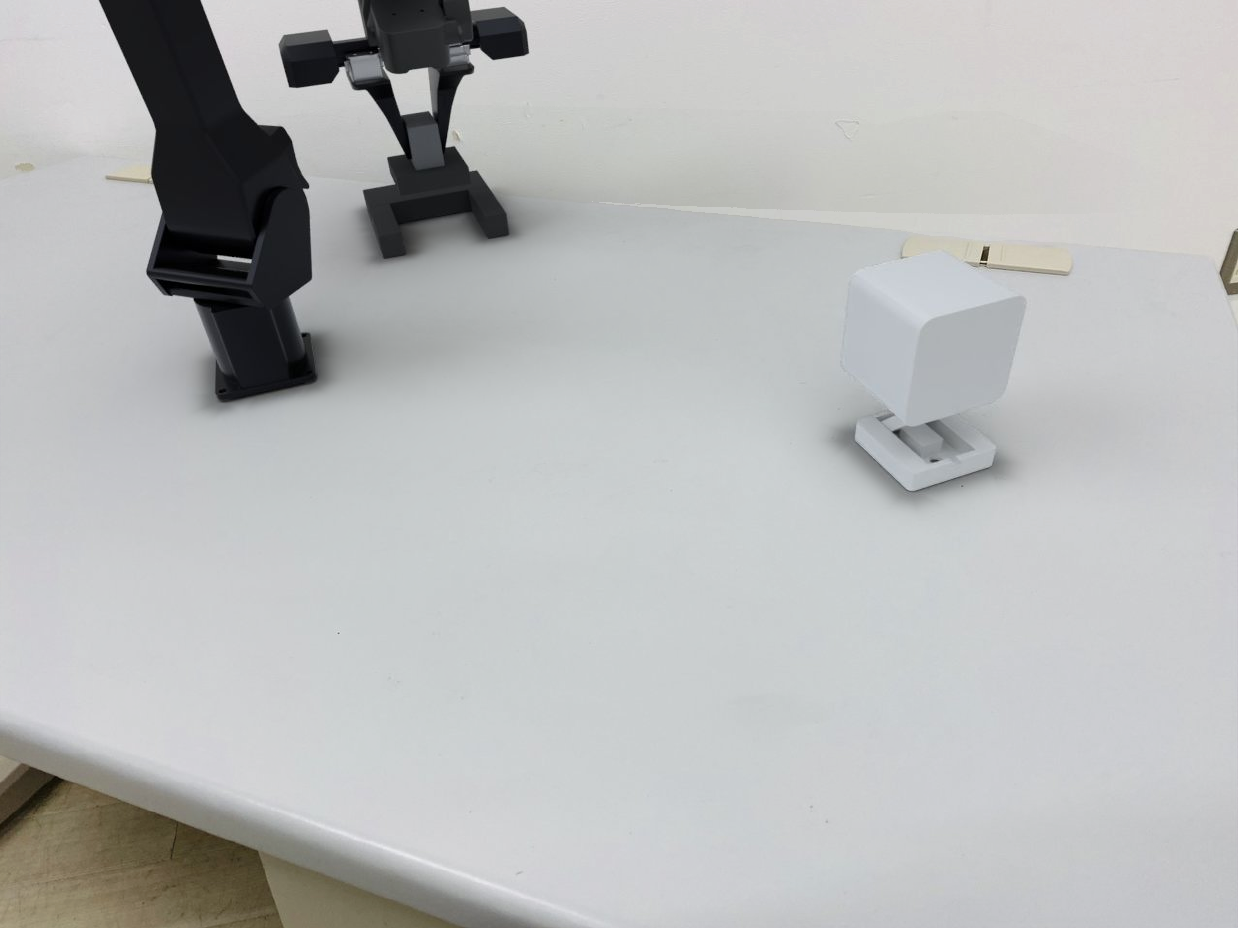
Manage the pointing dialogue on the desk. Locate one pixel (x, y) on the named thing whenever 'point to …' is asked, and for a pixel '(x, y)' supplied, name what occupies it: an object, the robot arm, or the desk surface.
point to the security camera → (929, 361)
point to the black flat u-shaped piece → (431, 210)
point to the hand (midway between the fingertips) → (425, 155)
